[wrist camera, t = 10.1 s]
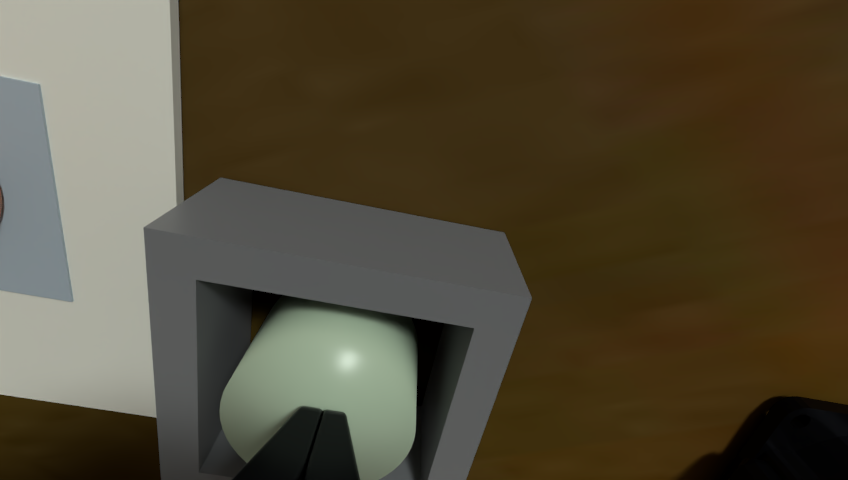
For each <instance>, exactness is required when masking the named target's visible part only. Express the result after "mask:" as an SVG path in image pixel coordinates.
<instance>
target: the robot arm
mask: <svg viewBox="0 0 848 480" xmlns="http://www.w3.org/2000/svg"><path fill="white" fill-rule="evenodd" d="M232 480H360V476H359V471H358V467H357V462H356V457H355V453H354V448H353V443H352V439H351V434H350V429H349V424H348V420H347V416H346V414H345V413H344V412H340V411H333V410H325V411H324V412H323V411H322V410H321V409H320V408H314V407H308V406H302V407H300V408H299V409H298V410H297V411H296V412H295V413H294V414H293V415H292V416H291V417H290V418H289V419H288V420H287V421H286V422H285V423H284V424H283V425H282V426H281V428H280V429H279V430H278V431H277V432H276V433H275V434H274V435H273V436H272V437H271V438H270V439H269V440H268V441H267V442H266V443H265V445H264V446H263V447H262V448H261V449H260V450H259V451H258V452H257V453H256V454H255V455H254V456H253V457H252V458H251V459H250V460H249V461H248V463H247V464H246V465H245V466H244V467H243V468H242V469H241V470H240V471H239V472H238V473H237V474H236V475H235V476H234V477H233V478H232ZM720 480H848V405H844V404H839V403H833V402H827V401H821V400H815V399H809V398H804V397H788V398H784V399H782V400H781V401H779V402H777V403H776V404H775V405H774V406H773V407H772V408H771V410H770V411H769V412H768V414H767V415H766V416H765V418H764V419H763V421H762V422H761V423H760V425H759V426H758V427H757V429H756V430H755V432H754V433H753V434H752V436H751V437H750V439H749V440H748V441H747V443H746V444H745V445H744V447H743V448H742V450H741V451H740V452H739V454H738V455H737V457H736V458H735V459H734V461H733V462H732V463H731V465H730V466H729V468H728V469H727V470H726V472H725V473H724V474H723V476H722V477H721V479H720Z"/></svg>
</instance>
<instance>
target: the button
mask: <svg viewBox="0 0 848 480" xmlns="http://www.w3.org/2000/svg"><path fill="white" fill-rule="evenodd" d="M417 365H418V337H417V331H416V328H415V325H414V323H413V321H412V319H411V317H407V316H401V315H395V314H389V313H384V312H378V311H372V310H367V309H361V308H355V307H349V306H344V305H338V304H332V303H326V302H321V301H315V300H309V299H303V298H298V297H292V296H286V295H282V296H281V297H280V298H279V299H278V300H277V302H276V303H275V304H274V306H273V307H272V309H271V310H270V312H269V314H268V315H267V317H266V319H265V321H264V322H263V324H262V326H261V327H260V329H259V331H258V333H257V334H256V336H255V338H254V339H253V341H252V343H251V344H250V346H249V348H248V350H247V351H246V353H245V355H244V356H243V358H242V360H241V361H240V363H239V365H238V367H237V368H236V370H235V372H234V373H233V375H232V377H231V379H230V380H229V382H228V384H227V386H226V388H225V390H224V391H223V395H222V398H221V401H220V421H221V425H222V429H223V431H224V434H225V436H226V438H227V440H228V442H229V443H230V445H231V446H232V448H233V449H234V450H235V451H236V453H237V454H238V455H239V456H240V457H241V458H242V459H243V460H244V461H245V462H246V463H248V461H249V460H250V459H251V458H252V457H253V456H254V455H255V454H256V453H257V452H258V451H259V450H260V449H261V448H262V447H263V446H264V445H265V443H266V442H267V441H268V440H269V439H270V438H271V437H272V436H273V435H274V434H275V433H276V432H277V431H278V430H279V429H280V428H281V426H282V425H283V424H284V423H285V422H286V421H287V420H288V419H289V418H290V417H291V416H292V415H293V414H294V413H295V412H296V411H297V410H298V409H299V408H300V407H302V406H308V407H314V408H320V409H321V410H322V411H323V412H324V411H325V410H333V411H340V412H344V413H345V414H346V416H347V420H348V424H349V429H350V434H351V439H352V443H353V448H354V453H355V457H356V462H357V467H358V471H359V476H360V480H379V479H381V478H383V477H384V476H386V475H387V474H389V473H390V472H392V471H393V470H394V469H395V468H396V467H398V466H399V465H400V464H401V463H402V461H403V460H404V459H405V458H406V456H407V455H408V453H409V451H410V449H411V447H412V444H413V442H414V438H415V432H416V402H417Z"/></svg>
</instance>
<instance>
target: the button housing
mask: <svg viewBox="0 0 848 480" xmlns="http://www.w3.org/2000/svg"><path fill="white" fill-rule="evenodd" d="M143 229H144V243H145V257H146V272H147V286H148V301H149V315H150V329H151V344H152V358H153V372H154V387H155V401H156V415H157V430H158V444H159V459H160V473H161V480H232V478H233V477H234V476H235V475H236V474H237V473H238V472H239V471H240V470H241V469H242V468H243V467H244V466H245V465H246V464H247V463H246V462H245V461H244V460H243V459H242V458H241V457H240V456H239V455H238V454H237V453H236V451H235V450H234V449H233V448H232V446H231V445H230V443H229V442H228V440H227V438H226V436H225V434H224V431H223V429H222V425H221V421H220V401H221V398H222V395H223V391H224V390H225V388H226V386H227V384H228V382H229V380H230V379H231V377H232V375H233V373H234V372H235V370H236V368H237V367H238V365H239V363H240V361H241V360H242V358H243V356H244V355H245V353H246V351H247V350H248V348H249V346H250V337H251V316H252V295H253V290H258V291H263V292H269V293H275V294H281V295H286V296H292V297H298V298H303V299H309V300H315V301H321V302H326V303H332V304H338V305H344V306H349V307H355V308H361V309H367V310H372V311H378V312H384V313H389V314H395V315H401V316H407V317H412V318H418V319H424V320H430V321H435V322H441V323H444V326H443V329H442V333H441V337H440V340H439V344H438V348H437V352H436V355H435V359H434V363H433V366H432V370H431V374H430V377H429V381H428V385H427V388H426V392H425V396H424V399H423V403H422V407H421V406H416V432H415V438H414V442H413V444H412V447H411V449H410V451H409V453H408V455H407V456H406V458H405V459H404V460H403V461H402V463H401V464H400V465H399V466H398V467H396V468H395V469H394V470H393V471H392V472H390V473H389V474H387V475H386V476H384V477H383V478H381V479H379V480H466V478H467V476H468V473H469V470H470V467H471V465H472V462H473V459H474V456H475V454H476V451H477V448H478V445H479V442H480V440H481V437H482V434H483V431H484V429H485V426H486V423H487V420H488V418H489V415H490V412H491V409H492V407H493V404H494V401H495V398H496V396H497V393H498V390H499V387H500V385H501V382H502V379H503V376H504V374H505V371H506V368H507V365H508V363H509V360H510V357H511V354H512V352H513V349H514V346H515V343H516V341H517V338H518V335H519V332H520V330H521V327H522V324H523V321H524V319H525V316H526V313H527V310H528V308H529V305H530V302H531V299H532V297H531V295H530V293H529V290H528V288H527V285H526V283H525V281H524V278H523V276H522V273H521V271H520V269H519V266H518V264H517V262H516V259H515V257H514V254H513V252H512V250H511V247H510V245H509V242H508V240H507V238H506V235H505V233H503V232H498V231H493V230H488V229H483V228H477V227H472V226H467V225H462V224H457V223H452V222H446V221H441V220H436V219H431V218H426V217H421V216H415V215H410V214H405V213H400V212H395V211H390V210H385V209H379V208H374V207H369V206H364V205H359V204H354V203H348V202H343V201H338V200H333V199H328V198H323V197H317V196H312V195H307V194H302V193H297V192H292V191H287V190H281V189H276V188H271V187H266V186H261V185H256V184H250V183H245V182H240V181H235V180H230V179H225V178H219V179H218V180H216V181H215V182H213V183H212V184H210V185H209V186H207V187H205V188H204V189H202V190H201V191H199V192H198V193H196V194H195V195H193V196H191V197H190V198H188V199H187V200H185V201H184V202H182V203H181V204H179V205H177V206H176V207H174V208H173V209H171V210H170V211H168V212H167V213H165V214H164V215H162V216H160V217H159V218H157V219H156V220H154V221H153V222H151V223H150V224H148V225H146V226H145V227H143Z"/></svg>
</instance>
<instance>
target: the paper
mask: <svg viewBox="0 0 848 480" xmlns="http://www.w3.org/2000/svg"><path fill="white" fill-rule="evenodd" d="M0 190H1V196H2V210H1V215H0V394H1V395H8V396H15V397H22V398H28V399H35V400H42V401H48V402H55V403H62V404H69V405H75V406H82V407H89V408H96V409H102V410H109V411H116V412H123V413H129V414H136V415H143V416H150V417H156V418H157V415H156V401H155V387H154V372H153V358H152V344H151V329H150V315H149V301H148V286H147V272H146V257H145V243H144V229H143V227H145V226H146V225H148V224H150V223H151V222H153V221H154V220H156V219H157V218H159V217H160V216H162V215H164V214H165V213H167V212H168V211H170V210H171V209H173V208H174V207H176V206H177V205H179V204H181V203H182V202H184V192H183V155H182V117H181V80H180V42H179V5H178V0H0Z"/></svg>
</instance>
